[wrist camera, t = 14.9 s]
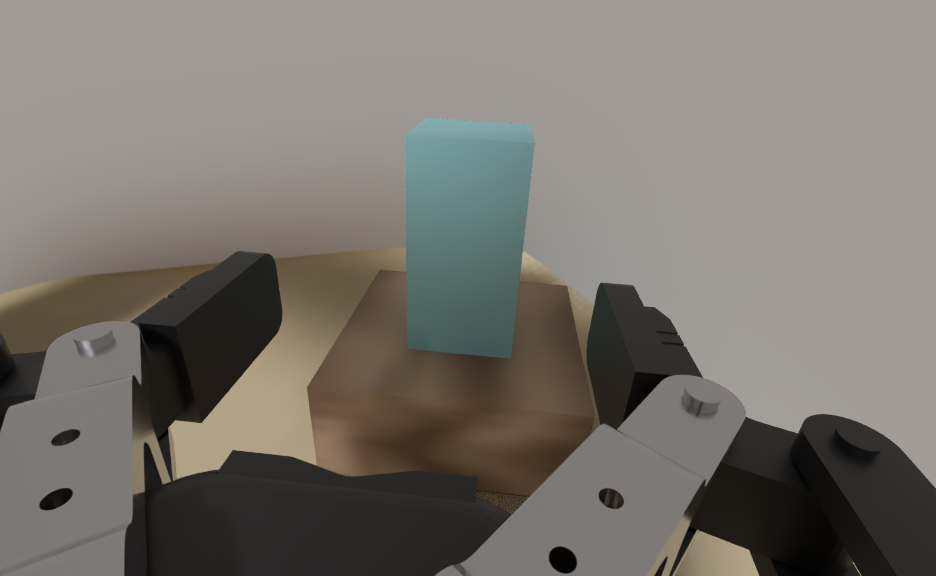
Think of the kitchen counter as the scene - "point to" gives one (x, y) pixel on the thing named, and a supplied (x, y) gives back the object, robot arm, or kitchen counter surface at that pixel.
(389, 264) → the kitchen counter surface
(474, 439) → the walnut block
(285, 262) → the kitchen counter surface
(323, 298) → the kitchen counter surface
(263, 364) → the kitchen counter surface
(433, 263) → the teal pillar
